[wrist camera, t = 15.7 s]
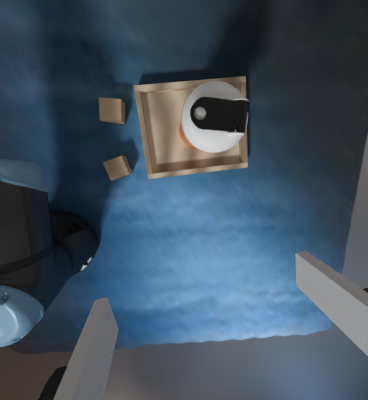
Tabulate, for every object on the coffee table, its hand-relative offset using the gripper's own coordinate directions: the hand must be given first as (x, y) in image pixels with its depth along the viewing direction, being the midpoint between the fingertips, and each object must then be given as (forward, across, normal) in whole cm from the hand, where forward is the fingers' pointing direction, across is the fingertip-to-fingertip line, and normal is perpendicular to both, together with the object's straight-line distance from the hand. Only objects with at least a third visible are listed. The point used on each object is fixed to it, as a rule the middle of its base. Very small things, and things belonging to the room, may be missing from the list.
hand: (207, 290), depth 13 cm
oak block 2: (+35, -10, +8) cm, 37 cm away
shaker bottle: (+33, +7, +12) cm, 36 cm away
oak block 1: (+35, -9, +18) cm, 40 cm away
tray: (+34, +7, +12) cm, 37 cm away
